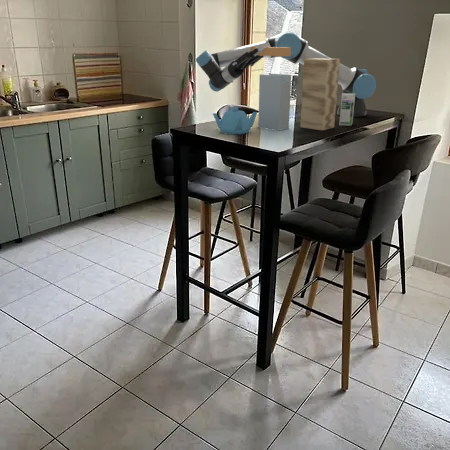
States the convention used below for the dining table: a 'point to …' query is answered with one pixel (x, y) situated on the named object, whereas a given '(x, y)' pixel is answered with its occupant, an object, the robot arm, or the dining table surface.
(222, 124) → the teapot
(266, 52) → the rod
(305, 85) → the wooden block
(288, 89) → the block
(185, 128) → the dining table surface
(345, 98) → the syrup box
